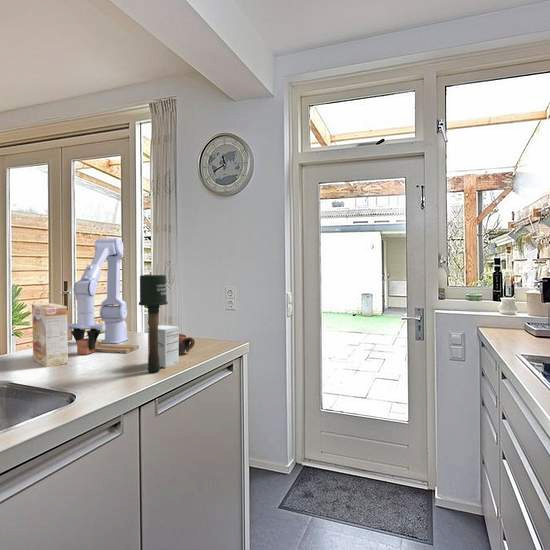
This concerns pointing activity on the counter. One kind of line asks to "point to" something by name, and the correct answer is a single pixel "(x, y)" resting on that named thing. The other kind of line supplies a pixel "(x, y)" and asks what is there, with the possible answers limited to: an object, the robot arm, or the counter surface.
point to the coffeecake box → (49, 334)
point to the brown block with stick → (85, 346)
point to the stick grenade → (153, 312)
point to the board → (115, 348)
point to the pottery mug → (185, 344)
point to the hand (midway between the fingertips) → (86, 348)
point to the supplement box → (167, 345)
